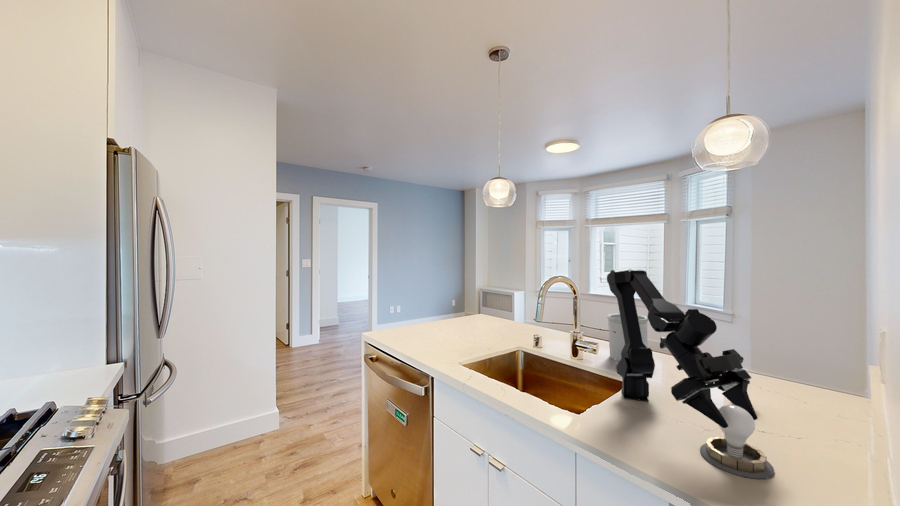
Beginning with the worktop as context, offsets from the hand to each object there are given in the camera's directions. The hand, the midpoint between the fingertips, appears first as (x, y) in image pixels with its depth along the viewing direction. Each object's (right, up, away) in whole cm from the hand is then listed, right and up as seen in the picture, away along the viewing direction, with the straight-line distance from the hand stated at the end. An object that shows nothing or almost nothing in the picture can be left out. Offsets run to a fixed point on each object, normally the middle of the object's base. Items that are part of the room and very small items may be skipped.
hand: (741, 423), depth 71 cm
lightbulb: (0, -8, +1) cm, 8 cm away
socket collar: (0, -8, +1) cm, 8 cm away
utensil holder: (+13, -8, +70) cm, 72 cm away
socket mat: (0, -8, +1) cm, 8 cm away
